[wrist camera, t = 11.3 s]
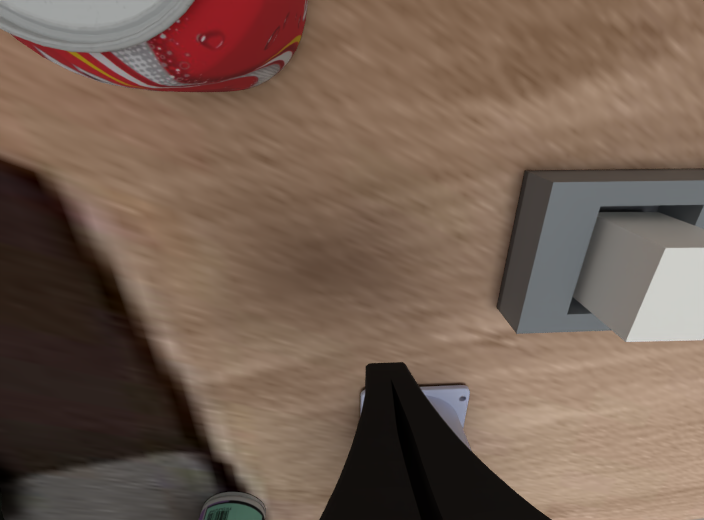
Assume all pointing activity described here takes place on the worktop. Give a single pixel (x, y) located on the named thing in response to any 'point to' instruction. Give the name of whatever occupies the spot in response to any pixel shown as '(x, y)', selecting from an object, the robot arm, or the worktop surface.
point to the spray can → (233, 507)
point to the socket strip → (578, 236)
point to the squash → (0, 516)
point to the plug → (645, 276)
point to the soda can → (162, 40)
